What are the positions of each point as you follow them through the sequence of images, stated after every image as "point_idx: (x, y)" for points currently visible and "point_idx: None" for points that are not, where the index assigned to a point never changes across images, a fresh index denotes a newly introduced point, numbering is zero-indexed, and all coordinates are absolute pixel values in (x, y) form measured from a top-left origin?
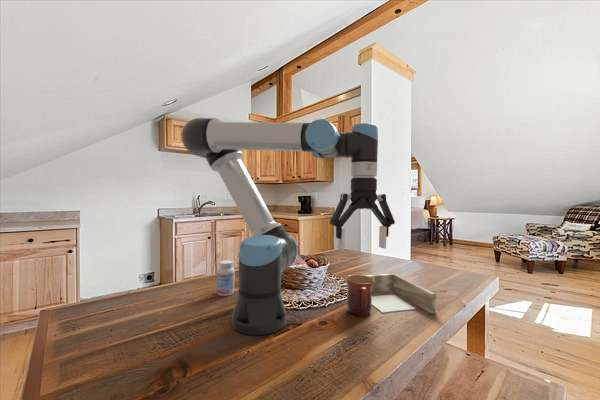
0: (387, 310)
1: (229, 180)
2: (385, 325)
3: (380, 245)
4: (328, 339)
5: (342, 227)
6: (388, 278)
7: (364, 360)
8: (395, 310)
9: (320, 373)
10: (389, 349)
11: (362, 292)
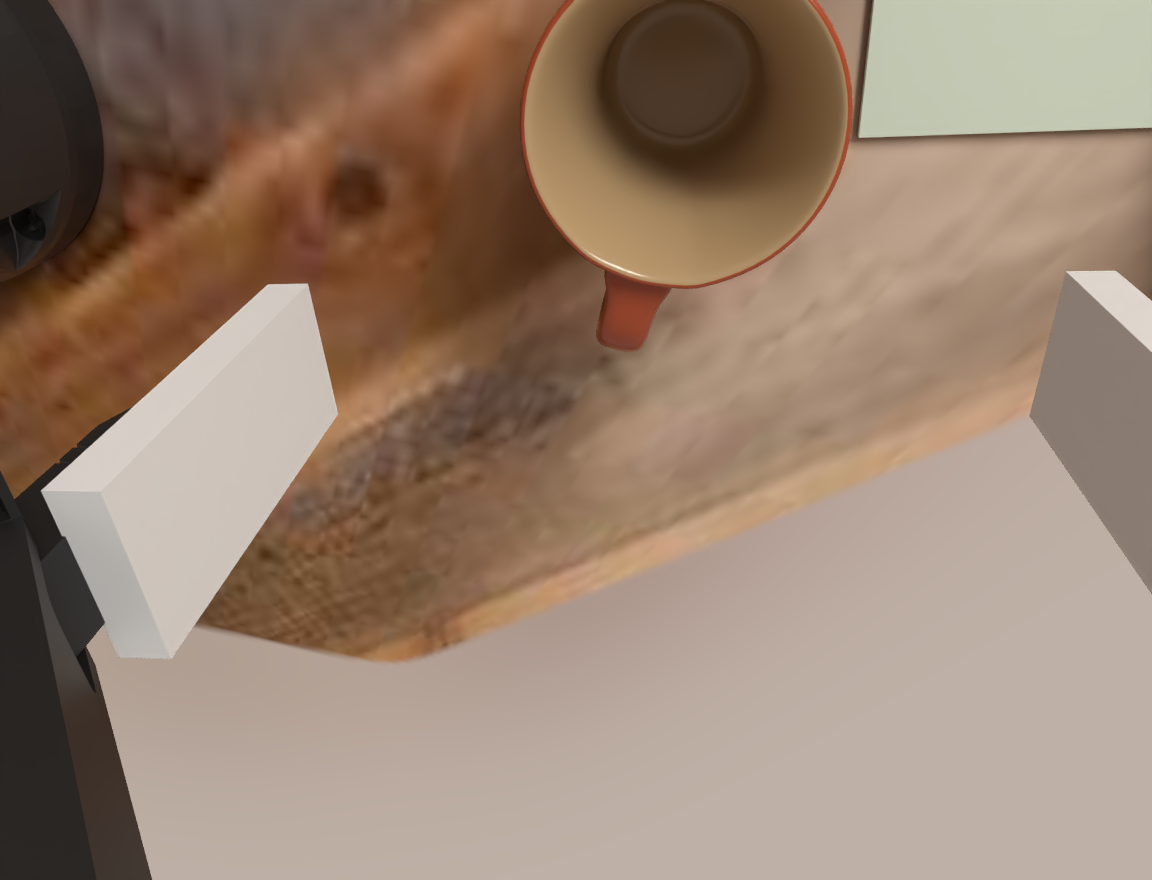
0: (926, 114)
1: None
2: (756, 311)
3: (1066, 334)
4: (354, 378)
5: (126, 595)
6: None
7: (477, 547)
8: (993, 128)
9: (284, 570)
10: (627, 512)
11: (598, 341)
